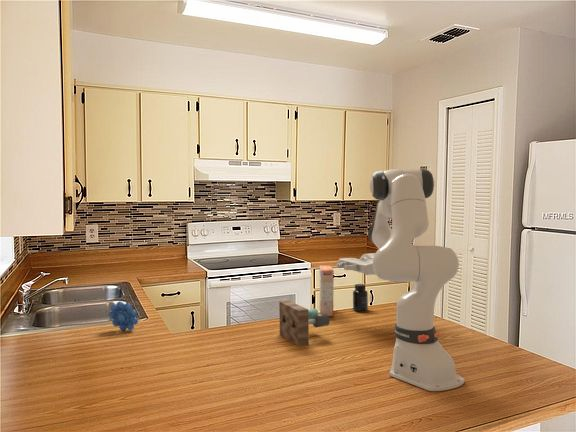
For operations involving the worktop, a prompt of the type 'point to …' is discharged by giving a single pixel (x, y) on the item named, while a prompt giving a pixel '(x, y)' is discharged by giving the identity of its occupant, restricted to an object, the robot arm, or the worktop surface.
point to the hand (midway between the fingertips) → (341, 266)
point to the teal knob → (311, 313)
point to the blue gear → (123, 316)
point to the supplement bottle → (360, 298)
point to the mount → (287, 326)
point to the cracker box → (326, 289)
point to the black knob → (319, 320)
